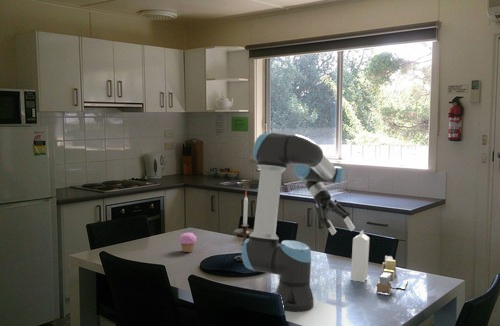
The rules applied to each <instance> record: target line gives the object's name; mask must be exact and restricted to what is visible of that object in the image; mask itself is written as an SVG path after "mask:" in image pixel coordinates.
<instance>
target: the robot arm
mask: <svg viewBox="0 0 500 326" xmlns="http://www.w3.org/2000/svg"><path fill="white" fill-rule="evenodd" d="M252 155H253V156H252V157H253V160H254V161H255V162H256V163H257V164H256V166H257V167H258V169H259V170H260V171H259V179H258V180H259V181H258V182H259V183H258V187H257V188H258V190H257V198H256V208H255V218H254V225H253V230H254V231H253V232H252V233H251V234H250V235H249V236H248V238H246V240H245V241H244V243H243V242H242V243H243V246H242V245H241V255H242V260H243V262H242V264H243V265H244V267H245V268H246V269H248V270H251V271H254V272H262V273H266V274H267V273H268V274H272V275H278V285H277V288H276V290H275V293H278V294H280V295H281V297H282V301H283V305H284V309H283V310H285V311H289V312H304V311H308V310H311V309H313V307H314V304H315V303H314V302H315V299H314V295H313V291H312V288H311V285H310V284H311V267H312V250H311V248H310V246H309V245H307V244H306V243H303V242H302V241H298V240H297V241H296V240H290V239H285V240H282V241H281V242H280V243H279V238H280V237H279V236H278V235H277V234H276V232H277V225H278V224H277V223H278V216H279V215H278V214H279V212H278V211H279V203H280V197H281V196H280V195H281V186H282V177H283V173H284V172H285V171H286V170H287V165H295V166H294V167H293V173H294V174H295V176H296V177H297V178H298V179H299V180H300V181H301V182H302V183H303V184H304V185H305V187H306V189H307V190H308V191H309V193H310V195H311V196H312V198H313V200H314V201H315V203H316V204H315V205H314V207H315V209H316V213H317V218H318V222H319V223H321V224H322V225H323V224H324V225H325V227H326V228H327V230H328V231H329V233H330V234H331V236H334V235H335V234H336V233H337V230H336V228H335V227H334V225H333V223H332V221H330V219H328V212H333V213H335V214H336V215H338V216H340V217H341V218H342V219H343V222H344V223H345V224H346V226H347V228H348V229H349V230H350V232H352V231H353V230H355V229H356V227H355V224H354V223H353V222H352V220H351V218H350V216H351V213H350V212H349V211H348V210H347V209H346V208H345V206H344V207H343V206H342V205H341V204H340V203H339V201H338V200H337V199H334V200H332V199H331V197H332V196H331V194H330V192H329V191H328V190H327V187H326V185H324V183H328V184H329V183H330V184H331V183H332V184H342V183H343V182H344V178H345V169H344V168H343V167H342V166H338V165H337V166H335V165H334V164H333V163H332V162H331V161H330V160H329V159H328V158H327V157H326V156H325V155H324V152H323V150H322V148H321V147H320V146H319V144H317V143H316V142H314V141H313V140H312V139H309V138H308V137H306V136H303V135H300V134H293V133H292V134H289V133H277V132H270V133H269V132H268V133H267V132H266V133H262V134H260V135H259V136H258V137H257V138H256V139H255V142H254V145H253V149H252Z"/></svg>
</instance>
